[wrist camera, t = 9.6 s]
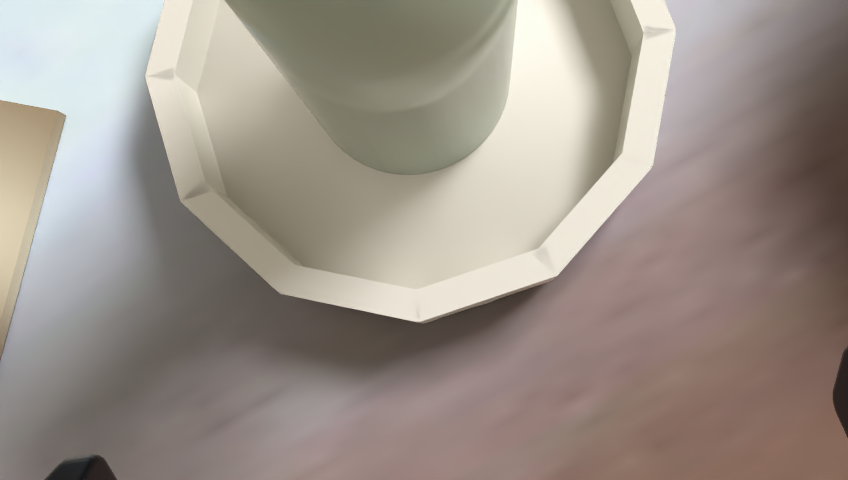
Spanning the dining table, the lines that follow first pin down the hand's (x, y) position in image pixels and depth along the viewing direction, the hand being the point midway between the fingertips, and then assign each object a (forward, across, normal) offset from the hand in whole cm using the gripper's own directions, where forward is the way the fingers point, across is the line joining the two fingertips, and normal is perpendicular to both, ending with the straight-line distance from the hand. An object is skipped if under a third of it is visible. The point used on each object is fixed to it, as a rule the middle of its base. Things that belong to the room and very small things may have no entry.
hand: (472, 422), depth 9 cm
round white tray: (+12, 0, +1) cm, 12 cm away
